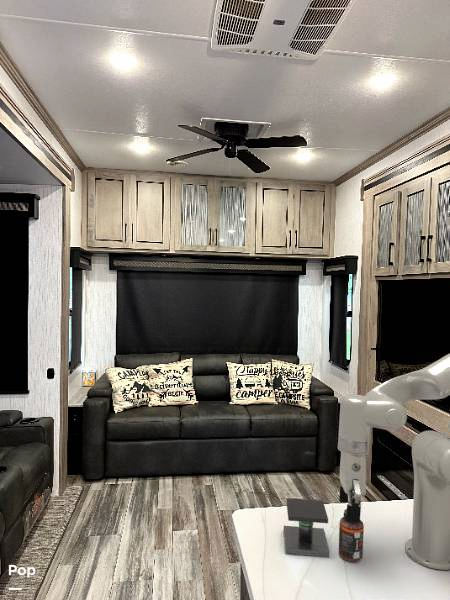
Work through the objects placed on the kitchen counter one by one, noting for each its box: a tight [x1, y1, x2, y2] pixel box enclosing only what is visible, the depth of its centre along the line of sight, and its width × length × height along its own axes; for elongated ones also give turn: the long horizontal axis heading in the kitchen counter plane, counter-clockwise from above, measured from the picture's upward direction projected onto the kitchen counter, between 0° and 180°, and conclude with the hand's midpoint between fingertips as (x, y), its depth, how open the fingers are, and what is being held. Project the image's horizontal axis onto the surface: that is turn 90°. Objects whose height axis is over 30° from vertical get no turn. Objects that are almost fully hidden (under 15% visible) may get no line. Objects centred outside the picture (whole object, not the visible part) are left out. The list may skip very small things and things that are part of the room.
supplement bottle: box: [338, 508, 365, 563], centre depth 112 cm, size 6×6×11 cm
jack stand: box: [283, 498, 331, 559], centre depth 117 cm, size 11×11×10 cm
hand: (349, 511), depth 112 cm, fingers open, 9 cm apart
